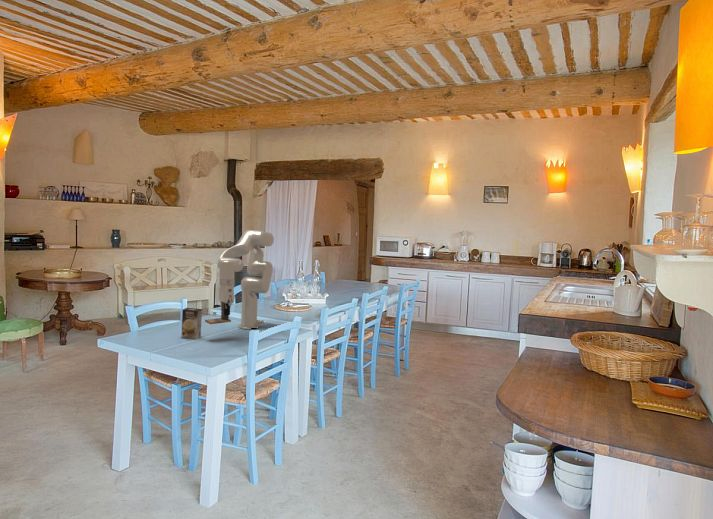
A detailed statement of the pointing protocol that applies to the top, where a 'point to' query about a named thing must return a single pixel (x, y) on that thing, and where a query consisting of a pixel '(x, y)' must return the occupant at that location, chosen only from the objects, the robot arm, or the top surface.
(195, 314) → the coffee box
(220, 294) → the robot arm
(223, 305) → the brown l-shaped piece
